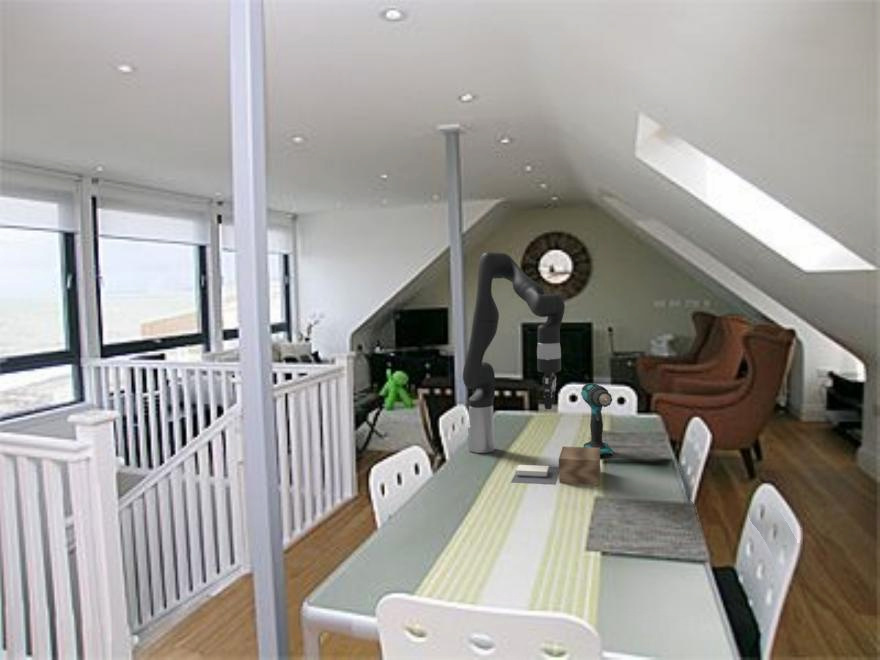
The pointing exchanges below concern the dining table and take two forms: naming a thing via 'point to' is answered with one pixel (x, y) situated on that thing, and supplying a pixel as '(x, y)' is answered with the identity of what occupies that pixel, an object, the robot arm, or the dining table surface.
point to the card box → (532, 470)
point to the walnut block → (579, 465)
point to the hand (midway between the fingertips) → (549, 406)
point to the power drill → (596, 414)
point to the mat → (539, 478)
